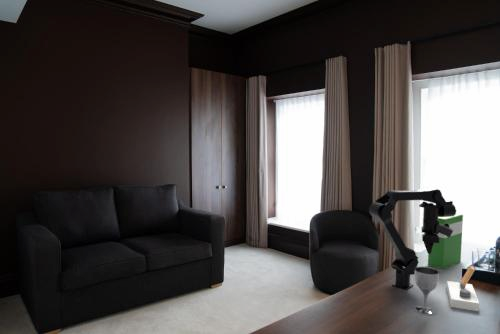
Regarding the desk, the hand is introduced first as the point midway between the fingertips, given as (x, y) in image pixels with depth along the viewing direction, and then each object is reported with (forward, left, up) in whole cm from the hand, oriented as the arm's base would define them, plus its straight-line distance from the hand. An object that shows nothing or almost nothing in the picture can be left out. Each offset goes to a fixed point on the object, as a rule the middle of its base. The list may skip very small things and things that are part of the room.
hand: (429, 253), depth 160 cm
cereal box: (+32, +5, -13) cm, 35 cm away
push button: (-10, -18, -10) cm, 23 cm away
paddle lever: (-2, -14, -9) cm, 17 cm away
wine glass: (-27, -10, -13) cm, 32 cm away
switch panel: (-6, -16, -13) cm, 21 cm away
